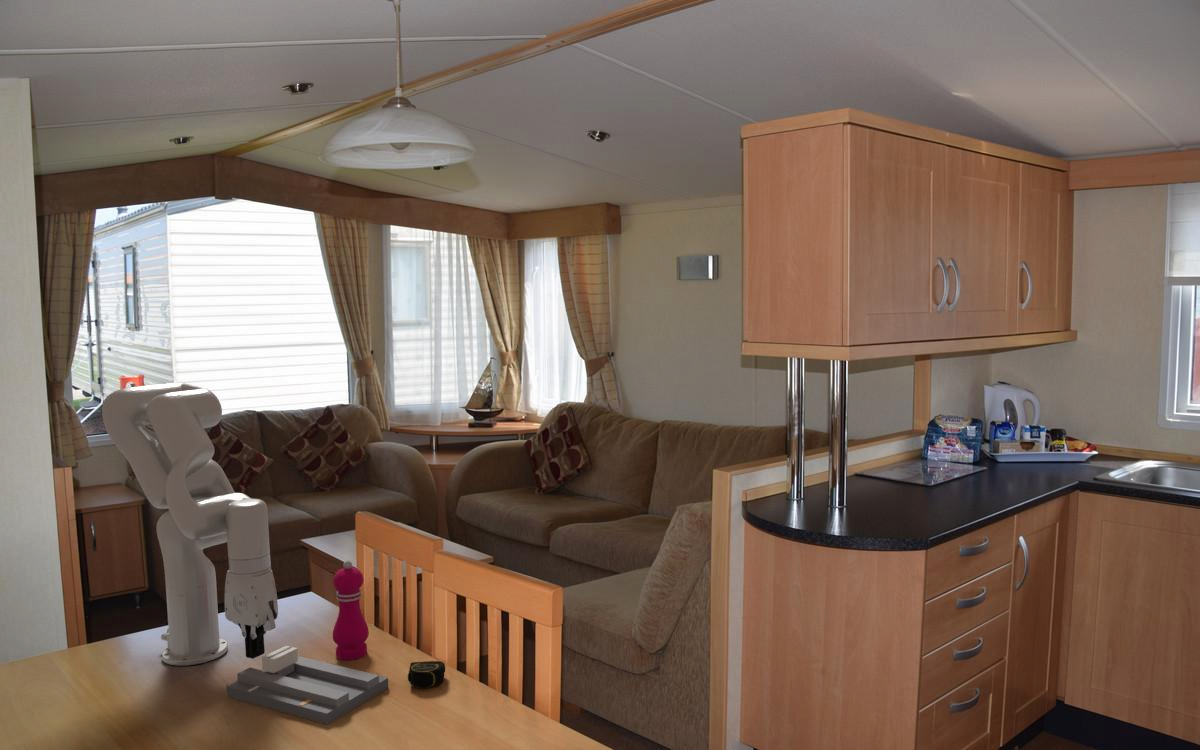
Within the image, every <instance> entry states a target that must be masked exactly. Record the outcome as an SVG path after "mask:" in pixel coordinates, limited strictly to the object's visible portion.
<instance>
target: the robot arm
mask: <svg viewBox="0 0 1200 750" xmlns="http://www.w3.org/2000/svg"><path fill="white" fill-rule="evenodd" d="M101 412H102V413H101V414H102V415H101V416H102V421H103V425H104V428H105V431H106V433H107V435H108V437H109V438H110V439H111V441H112V442H113V444H114V445H115V446H116V448H117V449H118V450H119V451H120V452H121V453H122V455H123V456H124V457H125V459H126V460H127V462H128V463H129V465H130V467H131V469H132V471H133V474H134V475H135V478H136V480H137V481H138V483H139V485H140V487H141V489H142V491H143V493H144V495H145V496H146V498H147V500H148V501H149V503H150V504H151V506H153V507H154V508H156V509H158V510H165V509H166V510H167V509H168V510H167V511H165V512H164V513H163V514H161V516H160V517H159V519H158V520H157V521H156V522H157V523H156V534H157V540H158V544H159V547H160V550H161V551H160V552H161V555H162V560H163V561H162V562H163V569H164V580H165V592H166V609H167V611H166V612H167V623H168V624H167V625H168V628H167V630H166V633H165V632H163V633H162V634H161V635H160V636H161V637H160V638H161V640H162V641H166V642H167V643H166V644H167V647H166V648H165V649H164V650H163V651H162V653H161V659H162V662H164V663H165V664H167V665H171V666H176V667H178V666H180V667H182V666H193V665H198V664H205V663H207V662H211V661H213V660H216V659H218V658H220V657H221V656H223V655H224V654H225V653H226V652H228V649H229V645H228V644H229V643H228V642H227V640H226V639H224V638H220V626H219V623H220V622H219V612H218V611H219V610H218V609H219V608H218V592H217V591H218V590H217V578H216V569H215V566H214V564H213V562H212V561H211V559H210V558H208V556H206V554H205V553H204V551H203V550H204V549H207V548H210V547H213V546H216V545H222V544H225V543H227V556H228V559H227V560H228V570H227V572H226V574H225V582H224V583H225V584H224V615H225V619H226V620H228V621H229V622H231V623H233V624H235V625H236V626H238V627H239V628H240V630H241V636H242V637H243V638H244V648H245V657H246V658H247V659H248V658H249V659H252V660H253V659H256V658H258V657H260V656H262V655H264V654H265V653H266V651H265V635H266V634H267V632H269V631H272V630H274V629H276V622H275V620H277V618H278V613H279V605H278V595H277V588H276V582H275V577H274V574H273V570H272V566H271V565H272V563H271V551H270V550H271V549H270V531H269V512H268V505H267V503H266V502H265V501H264V500H262V499H259V498H252V497H250V496H248V495H247V494H245V493H242V492H235V490H234V488H233V486H232V484H231V483H230V480H229V478H228V477H227V475H226V473H225V472H224V470H223V468H222V467H221V465H219V463H218V462H217V461H215V460H213V457H214V455H215V447H214V446H215V445H214V444H213V442H212V440H211V439H210V437H209V435H208V433H207V432H206V430H205V429H207V428H213V427H216V426H217V425H218V424H219V423H220V421H221V419H222V417H223V416H222V415H223V409H222V405H221V402H220V400H219V398H218V397H217V396H216V394H215V393H214V392H212V391H211V390H210V389H208V388H205V387H202V386H198V385H197V386H196V385H194V384H193V385H192V384H189V383H186V382H170V383H169V382H168V383H159V384H158V383H157V384H150V385H149V384H148V385H147V384H146V385H138V386H130V387H125V388H121V389H118V390H115V391H113V392H111V393H109V394H108V395H106V397H105V399H104V400H103V402H102V408H101ZM149 425H150V426H151V428H152V429H149V428H148V427H146V426H149Z"/></svg>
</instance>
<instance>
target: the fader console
mask: <svg viewBox="0 0 1200 750" xmlns="http://www.w3.org/2000/svg"><path fill="white" fill-rule="evenodd" d="M294 669H295V671H294V672H292V673H290V674H288V675H286V676H282V675H278V674H274V673H270V672H267V671H264V670H263V668H261V669H257V668H254V667H248V668H245V669H243V670H241V671H240V672H237V673H236V677H237V681H235V682H233V683H230V684H229V685H227V686H226V697H228V698H231V699H235V700H238V701H241V702H245V703H249V704H252V705H256V706H259V707H264V708H265V709H266V708H267V709H270V710H274V711H278V712H281V713H284V714H289V715H292V716H295V717H300V718H303V719H306V720H309V721H314V722H318V723H320V724H324V725H329V724H331V723H333V722H334V721H336V720H338V719H339V718H341V717H343V716H344V715H346V714H348V713H350V711H353V710H354V709H356V708H357V707H359V706H360V705H361V706H362V705H363V704H364V703H366V702H367V701H369V700H372V699H373V698H374V697H376V696H378V695H379V694H381V693H382V692H384V691H386V690H387V689H389V677H385V676H382V675H379V674H375V673H371V672H367V671H362V670H357V669H353V668H350V667H346V666H341V665H336V664H332V663H329V662H324V661H320V660H316V659H312V658H307V657H304V656H300V655H298V662H295V663H294Z"/></svg>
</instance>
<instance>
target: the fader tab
mask: <svg viewBox="0 0 1200 750" xmlns="http://www.w3.org/2000/svg"><path fill="white" fill-rule="evenodd" d="M298 650H299V649H298V647H294V646H289V645H285V646H283V647H281V648H278V649H276V650H274V651H272V652H269V653H267V654H265V655H263V656H261V665H262V668H261V669H263V670H264V671H267V672H270V673H274V674H278V675H282V676H286V675H288V674H290V673H292V672H294V671H295V669H294V663H295V662H298V656H299V653H298Z"/></svg>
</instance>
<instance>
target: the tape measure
mask: <svg viewBox="0 0 1200 750" xmlns="http://www.w3.org/2000/svg"><path fill="white" fill-rule="evenodd" d="M408 669H409V671H408V674H407V680H408V682H409V683H410V685H411V686H412V687H414V688H419V689H420V688H422V689H423V688H424V689H425V688H432V687H436V686H438V685H440V684H442V683H443V682H444V680H445V672H446V665H445V663H444V661H438V660H430V661H429V660H428V661H413V662H410V666H409V668H408Z"/></svg>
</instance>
